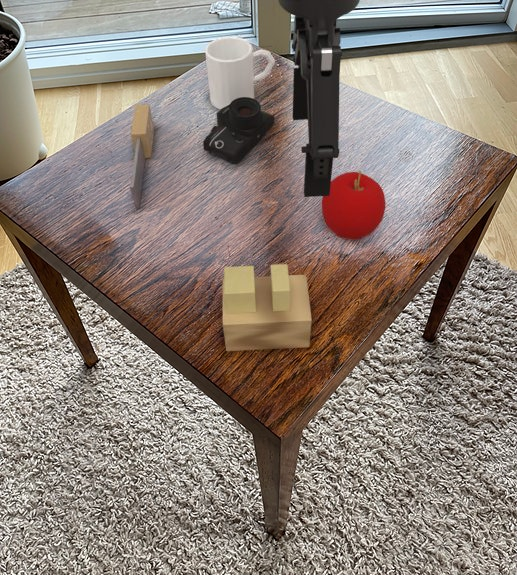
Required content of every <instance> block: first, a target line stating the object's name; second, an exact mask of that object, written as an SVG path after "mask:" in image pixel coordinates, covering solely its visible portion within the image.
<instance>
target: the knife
mask: <svg viewBox="0 0 517 575" xmlns="http://www.w3.org/2000/svg"><path fill="white" fill-rule="evenodd" d="M151 110H152V109H151V106H150V104H149V103H148V104H147V103H146V104H135V105H134V110H133V118H132V124H131V132H130V136H131V140H132V144H133V148H134V156H133V157H134V158H133V164H132V170H131V177H130V178H131V180H130V186H129V188H130V192H131V194H132V199H133V203H134V206H135V210H139V209H140V205H141V197H142V191H143V190H142V188H143V182H144V181H143V180H144V174H145V165H146V159H151V158H152V153H153V143H154V136H155V135H154V134H155V125H154V120H153V116H152V111H151Z"/></svg>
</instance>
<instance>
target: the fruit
mask: <svg viewBox="0 0 517 575" xmlns="http://www.w3.org/2000/svg"><path fill="white" fill-rule="evenodd" d="M321 212H322V217H323V221H324V223H325V225H326V226H327V228H328V229H329V230H330V231H331V232H332V233H333V234H335V235H336V236H337V237H338V238H340V239H345V240H360V239H363V238H366V237H367V236H369V235H370V234H372V233H373V232H374V231H376V230H377V228H378V227H379V225H380V224H381V222H383V218H384V217H385V216H384V215H385V212H386V196H385V193H384V189H383V188H382V186H381V185H380V184H379V183H378V182H377V181H376V180H375V179H373V178H372V177H370V176H368V175H367V174H364V173H362V171H361V170H358V172H357V171H349V172H345V173H341V174H339V175H337V176H336V177H335V178H333V179H331V186H330V196H321Z"/></svg>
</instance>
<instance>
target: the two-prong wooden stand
mask: <svg viewBox="0 0 517 575" xmlns="http://www.w3.org/2000/svg"><path fill="white" fill-rule="evenodd" d="M254 280H255V300H256V312H253V313H234V314H227V311H226V303H225V294H224V278H222V330H223V336H224V344H225V351H226V352H238V351H239V352H240V351H241V352H242V351H260V350H261V351H262V350H278V349H297V348H298V349H299V348H310V346H311V331H312V322H313V321H312V320H313V319H312V312H311V303H310V296H309V287H308V279H307V274H289V285H290V310H289V311H273V306H272V292H271V275H269V276H268V275H267V276H254Z"/></svg>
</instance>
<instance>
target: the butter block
mask: <svg viewBox="0 0 517 575" xmlns="http://www.w3.org/2000/svg"><path fill="white" fill-rule="evenodd" d="M223 269H224V270H223V279H224V294H225V303H226V311H227V314H234V313H253V312H256V300H255V280H254V277H255V266H254V265H242V266H225V267H224V268H223Z"/></svg>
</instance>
